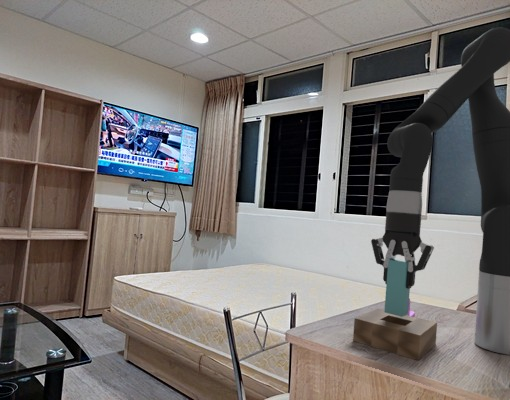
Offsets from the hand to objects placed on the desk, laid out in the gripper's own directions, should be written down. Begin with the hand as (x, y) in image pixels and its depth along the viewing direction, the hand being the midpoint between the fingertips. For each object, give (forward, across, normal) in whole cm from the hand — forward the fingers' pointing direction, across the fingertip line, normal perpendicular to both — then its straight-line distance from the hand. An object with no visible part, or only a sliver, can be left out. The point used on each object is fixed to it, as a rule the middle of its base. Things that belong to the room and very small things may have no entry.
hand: (398, 285), depth 85 cm
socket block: (+13, 0, 0) cm, 13 cm away
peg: (+6, 0, 0) cm, 6 cm away
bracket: (+13, +6, -24) cm, 28 cm away
